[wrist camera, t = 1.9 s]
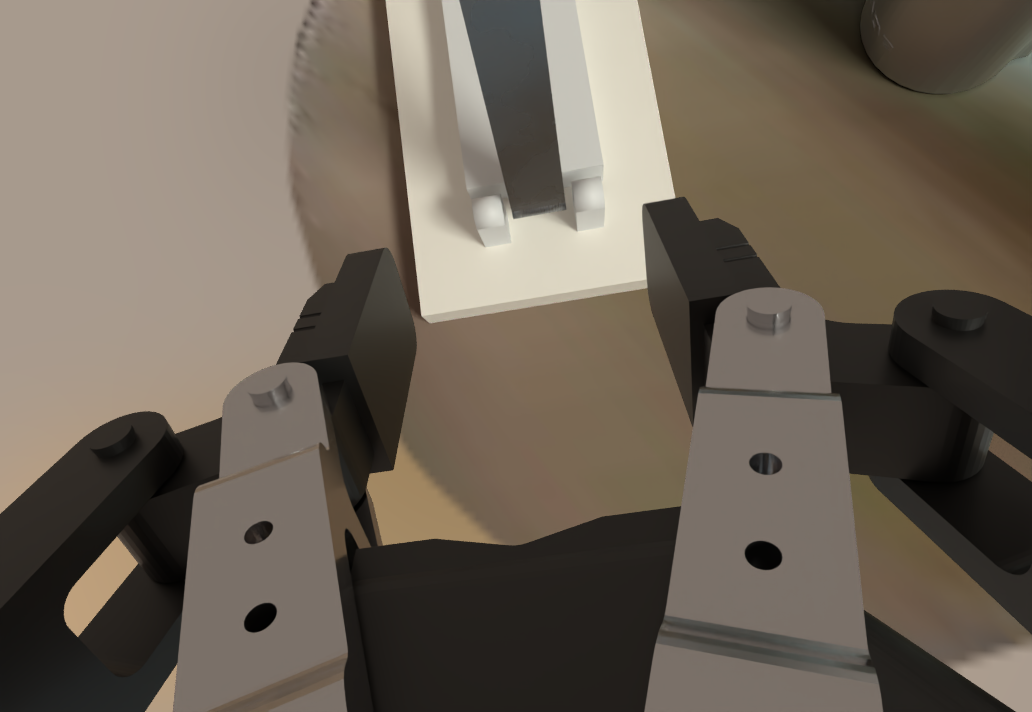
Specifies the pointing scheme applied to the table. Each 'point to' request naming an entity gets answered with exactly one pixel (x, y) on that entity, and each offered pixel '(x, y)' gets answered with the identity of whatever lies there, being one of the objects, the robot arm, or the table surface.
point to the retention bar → (518, 100)
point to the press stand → (477, 173)
